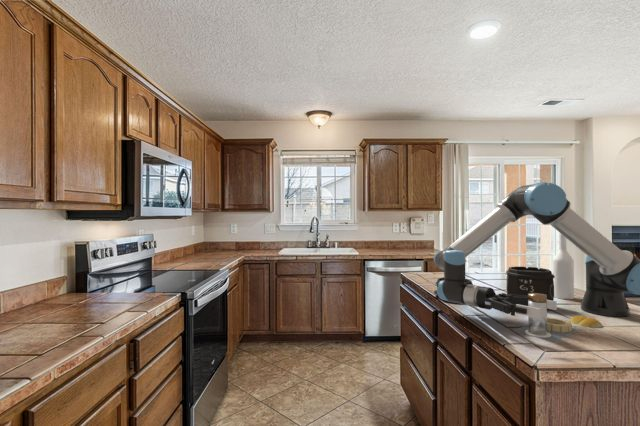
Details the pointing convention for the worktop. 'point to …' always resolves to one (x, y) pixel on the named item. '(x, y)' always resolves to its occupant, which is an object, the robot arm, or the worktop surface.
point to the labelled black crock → (530, 281)
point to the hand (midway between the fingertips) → (548, 309)
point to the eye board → (554, 334)
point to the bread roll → (585, 321)
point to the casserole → (443, 279)
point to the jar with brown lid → (540, 324)
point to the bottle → (563, 272)
